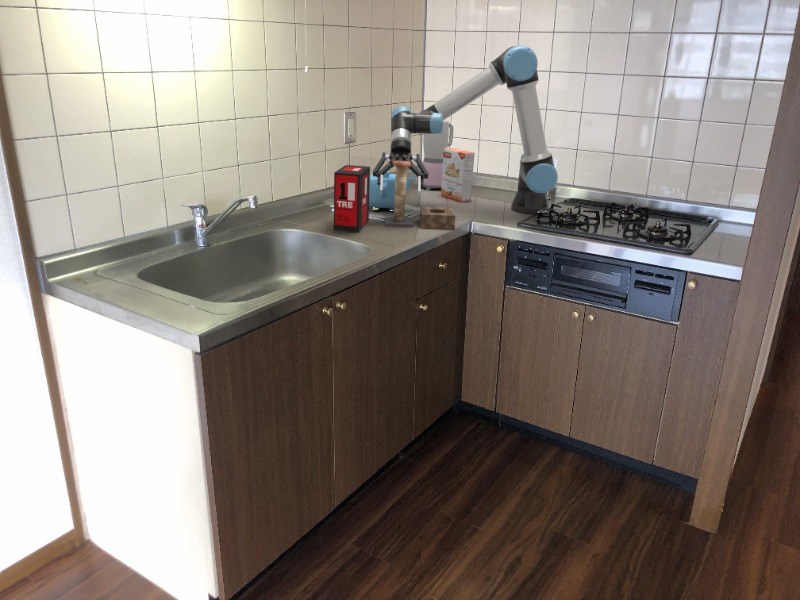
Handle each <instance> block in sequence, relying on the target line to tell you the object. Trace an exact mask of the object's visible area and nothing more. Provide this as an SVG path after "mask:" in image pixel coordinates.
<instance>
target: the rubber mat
mask: <svg viewBox="0 0 800 600" xmlns="http://www.w3.org/2000/svg"><path fill="white" fill-rule="evenodd" d="M393 218H394V216H384V226H385V227H399V228H400V227H403V228H413V227H414V223H413V218H412V217H409V216H408V217H405V216H404V221H403V222H397V221H394V220H393Z"/></svg>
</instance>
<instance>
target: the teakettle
mask: <svg viewBox="0 0 800 600" xmlns="http://www.w3.org/2000/svg"><path fill="white" fill-rule="evenodd" d="M395 178H396V173H395V174H393V173H391V171H390V170H389V171H387V172H386V173H385V174H384V175H383V188H382V194H380V185H378V184H377V177H376V176H375V177H373V172H372V173H371V174H370V189H369V208H373V207H375V208H379V209H382V208H383V209H388V210H393V211H394V198H395ZM416 179H417V176H414V177H413V176H412V177H408V179H407V181H406V194H407V193H408V191H409V189H410V185H411V183H412V182H413V181H414V180H416Z"/></svg>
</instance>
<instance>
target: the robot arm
mask: <svg viewBox="0 0 800 600" xmlns="http://www.w3.org/2000/svg"><path fill="white" fill-rule="evenodd" d="M538 63H539V61H538V57H537V55H536V53H535V52H534V50H533V49H532V48H530V47H529V46H527V45H523V44H522V45H521V44H519V45H513V46H510V47H508V48H507V49H506V50H505V51H503V52H502V53H501V54H499V56H497V57H496V58H495V59H494V60H492V61H491V62H489V63H488V64H489V65H488V67H486V68H485V69H484V70H482V71H481V72H479V73H478V74H476V75H475V76H473V77H472V78H470V79H469V80H467V81H466V82H464V83H463V84H461V85H459V86H458V87H457V88H455V89H453V90H452V91H451V92H450V93H448V94H446V95H445V96H443V97H442V98H440V99H439V100H438V101H436V102H435V103H433V104H432V105H430V106H429V107H427V108H425V109H423V110H422V111H420V112H419V113H418V112H412V110H411V109H410V108H409V107H406V106H404V105H401V106H396V107H395V108H394V109H393V110H392V112H391V118H390V123H391V125H390V126H391V127H390V129H391V131H390V153H389V154H387V153H386V151H385V152H382V154H381V157H380V160H379V161H378V162H377V164H376V165H375V166H374V169H373V170H372V173H373V177H375V176H376V177H377V184H378V185H380V194H382V188H383V175H384V174H385V173H386V172H387V171H389V172H390V170H391V169H393V168H394V167H395V166H393V161H408V162H411V166H410V167H407V169H408V170H410V171H411V172H412V173H413V174H414V175H415V177H416V178H417V196H419V197H420V196H421V191H422V188H424V187H423V184H424V179H428V174H429V173H428V172H427V170H426V168H425V166H424V165H423V163H422V162H423V161H422V159H421V157H420V156H421V155H420V154H419V153H416V155H413V154H412V134H414V135H415V134H423V135H424V134H436V133H442V131H443V121H444V120H447V119H448V118H450V117H452V116H453V115H454V114H456V113H458V112H459V111H460V110H462V109H464V108H465V107H467V106H468V105H470V104H471V103H473V102H475V101H476V100H477V99H479V98H480V97H482V96H483V95H485V94H486V93H488V92H489V91H491V90H493V89H494V88H496V87H497V86H499V85H501V86H503V85H505V84H506V89H507V90H509V91H510V92H511V93H512V98H513V102H514V108H515V113H516V119H517V124H518V131H519V135H520V138H521V139H520V140H521V145H522V151H523V153H522V154H521V157H520V160H519V163H520V164H519V169H518V170H519V172H518V173H519V174H518V182H517V191H516V192H515V195H514V197H513V199H512V201H511V206H510V209H511V210H512V211H514V212H517V213H522V214H529V215H537V214H536V213H537V212H538V211H540V210H544V209H548V210H549V203H548V197H547V193H548V192H551V190H553V189H554V188H555V186H556V185H557V182H558V179H559V176H558V171H557V169H556V167H555V164H554V160H553V159H554V158H553V153H552V152H550V151H549V150H548V149H547V148H548V147H547V143H546V137H545V133H544V132H545V131H544V126H543V121H542V115H541V110H540V105H539V99H538V93H537V87H536V85H537V84H538V83H539V81H540V80H539V73H538V66H539V65H538ZM388 159H389V162H388V163H387V164H385V162H386V161H387V160H388ZM412 160H413V161H414V162H415V163H416V165H417V166H416V165H415V164H414V163H413V161H412ZM384 164H385V166H384Z"/></svg>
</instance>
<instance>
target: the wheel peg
mask: <svg viewBox="0 0 800 600" xmlns="http://www.w3.org/2000/svg"><path fill="white" fill-rule="evenodd" d="M393 166H394V167H395V174H396V178H395V198H394V212H393V217H394V218H393V220H394V221H397V222H403V221H404V217H405V213H406V212H405V211H406V196H407V193H406V181H407V180H408V179H407V178H408V176H407V175H408V167H410V166H411V162H408V161H393Z"/></svg>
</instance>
